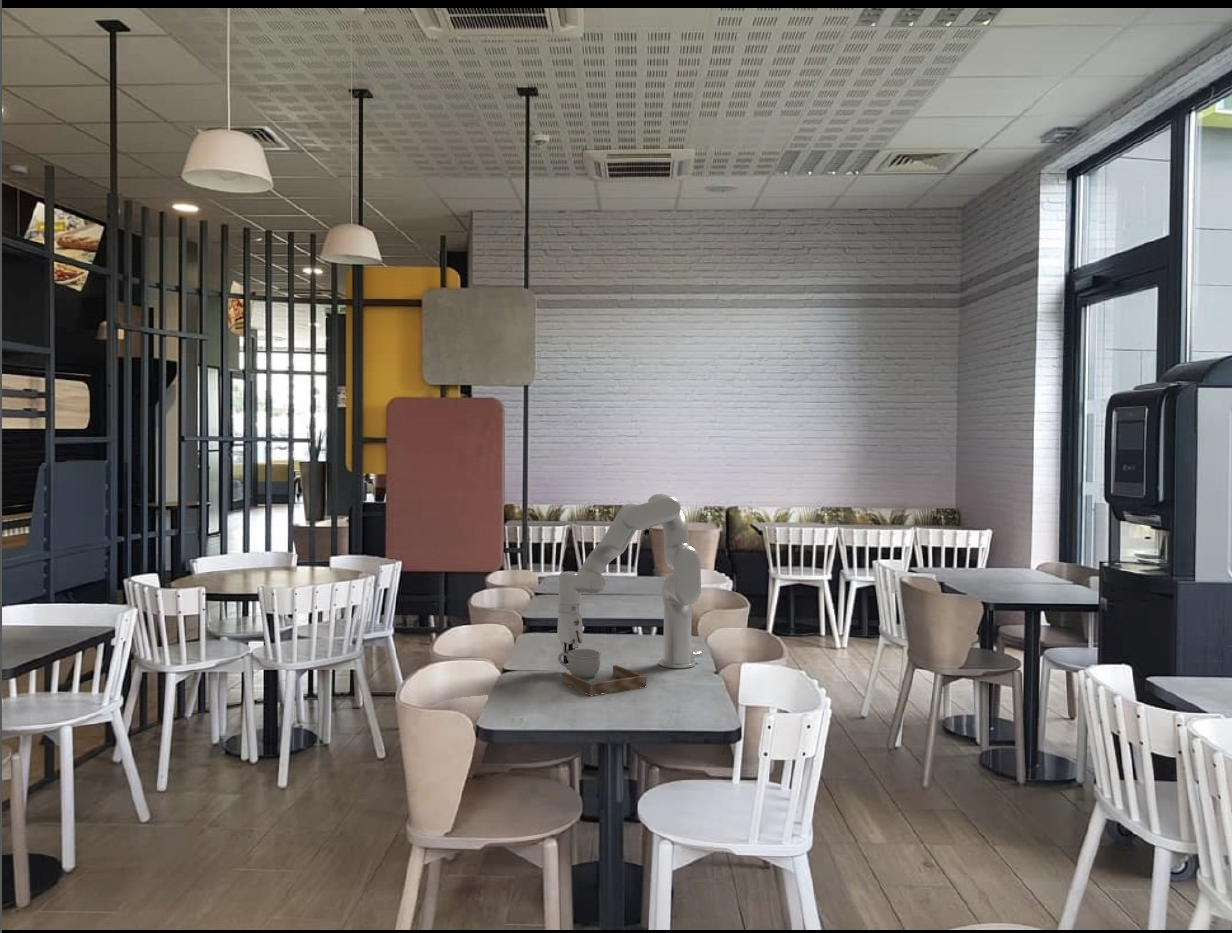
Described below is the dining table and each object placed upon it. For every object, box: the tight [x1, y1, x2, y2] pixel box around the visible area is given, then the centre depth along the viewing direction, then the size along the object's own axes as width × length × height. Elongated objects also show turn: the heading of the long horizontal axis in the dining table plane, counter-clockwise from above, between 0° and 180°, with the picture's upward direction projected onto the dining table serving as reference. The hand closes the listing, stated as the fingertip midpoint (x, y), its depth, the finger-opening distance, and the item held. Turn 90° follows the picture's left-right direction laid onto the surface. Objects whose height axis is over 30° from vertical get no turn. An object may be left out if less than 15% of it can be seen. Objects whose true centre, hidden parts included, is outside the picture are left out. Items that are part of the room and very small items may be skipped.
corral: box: [561, 664, 647, 696], centre depth 309 cm, size 20×18×4 cm
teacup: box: [557, 647, 601, 679], centre depth 321 cm, size 14×11×8 cm
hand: (568, 662), depth 327 cm, fingers closed
